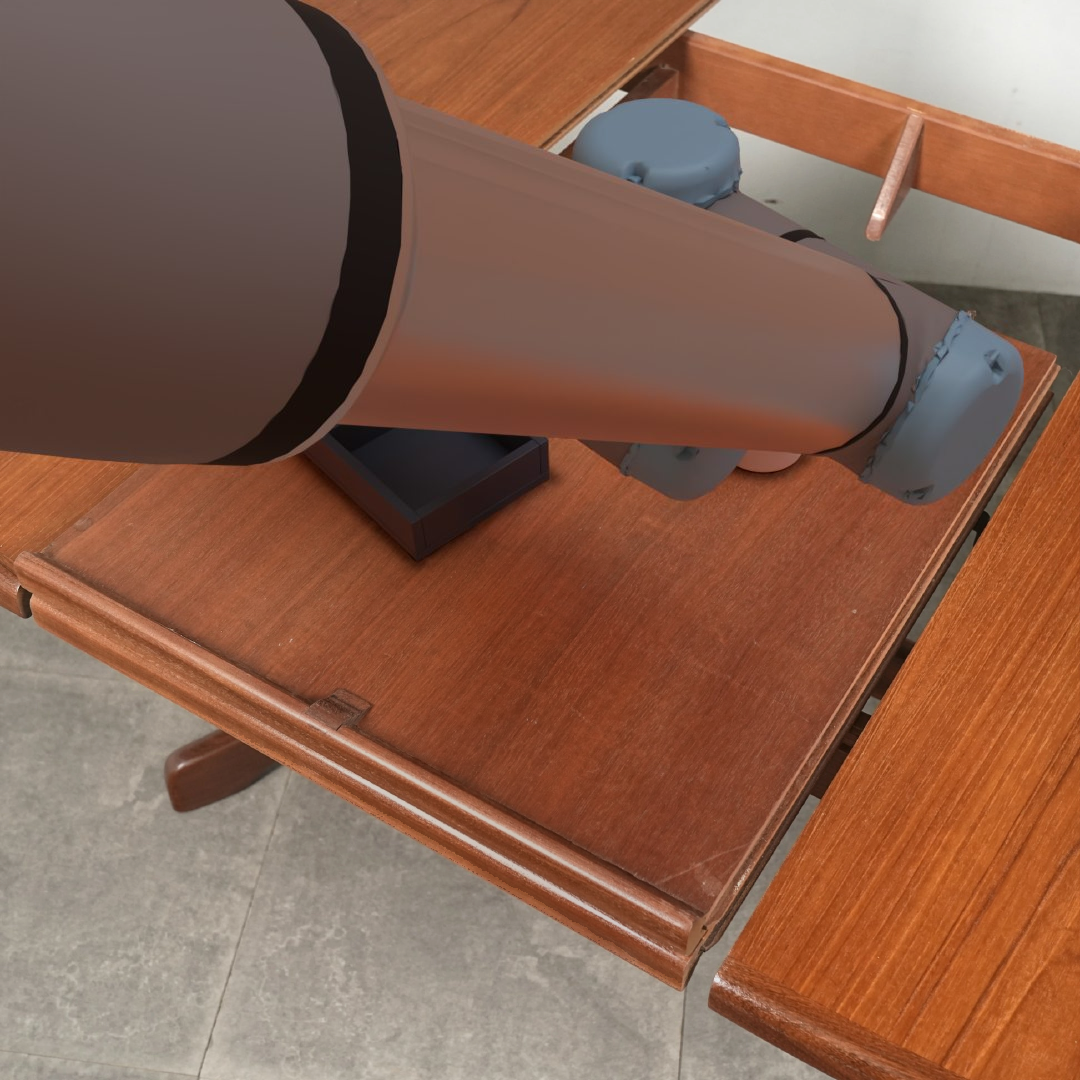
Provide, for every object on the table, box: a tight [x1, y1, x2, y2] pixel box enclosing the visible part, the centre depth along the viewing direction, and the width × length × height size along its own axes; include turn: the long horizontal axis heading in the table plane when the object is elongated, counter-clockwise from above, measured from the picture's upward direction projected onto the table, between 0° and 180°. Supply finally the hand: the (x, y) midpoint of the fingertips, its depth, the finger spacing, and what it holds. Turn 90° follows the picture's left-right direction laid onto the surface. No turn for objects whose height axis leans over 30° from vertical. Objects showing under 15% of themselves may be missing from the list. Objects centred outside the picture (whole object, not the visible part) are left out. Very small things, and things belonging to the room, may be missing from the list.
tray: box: [302, 424, 550, 562], centre depth 86 cm, size 12×22×4 cm, turn 41°
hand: (270, 171), depth 79 cm, fingers closed on speaker, 7 cm apart
